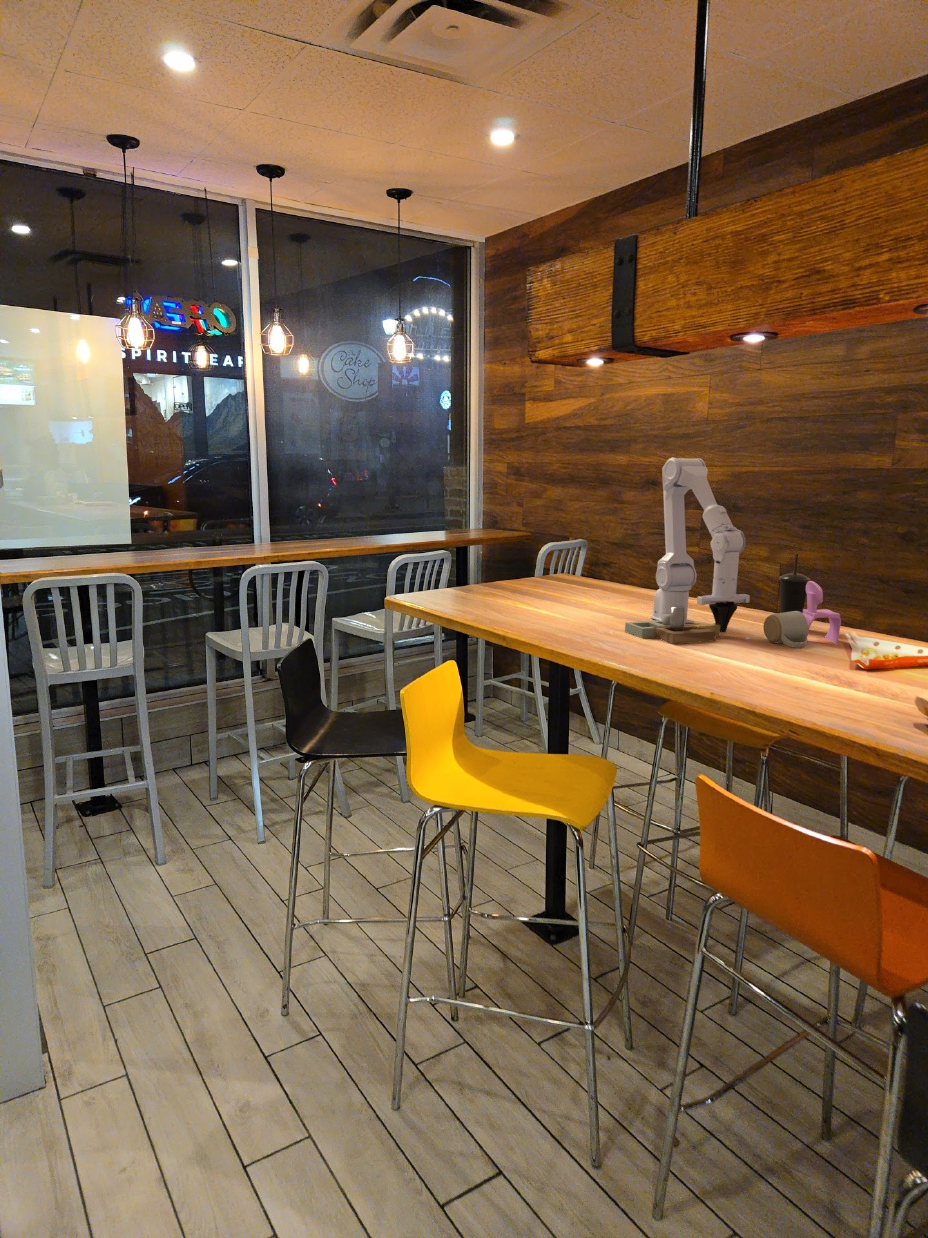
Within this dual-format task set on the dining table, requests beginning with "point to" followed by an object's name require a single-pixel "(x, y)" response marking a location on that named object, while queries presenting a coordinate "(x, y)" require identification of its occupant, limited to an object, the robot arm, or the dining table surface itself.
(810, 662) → the dining table surface
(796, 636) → the ceramic mug
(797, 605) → the drinking cup
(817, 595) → the toy chair
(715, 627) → the brown rectangular block
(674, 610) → the grey metal cylinder
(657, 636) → the socket block
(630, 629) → the rack
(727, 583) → the robot arm
